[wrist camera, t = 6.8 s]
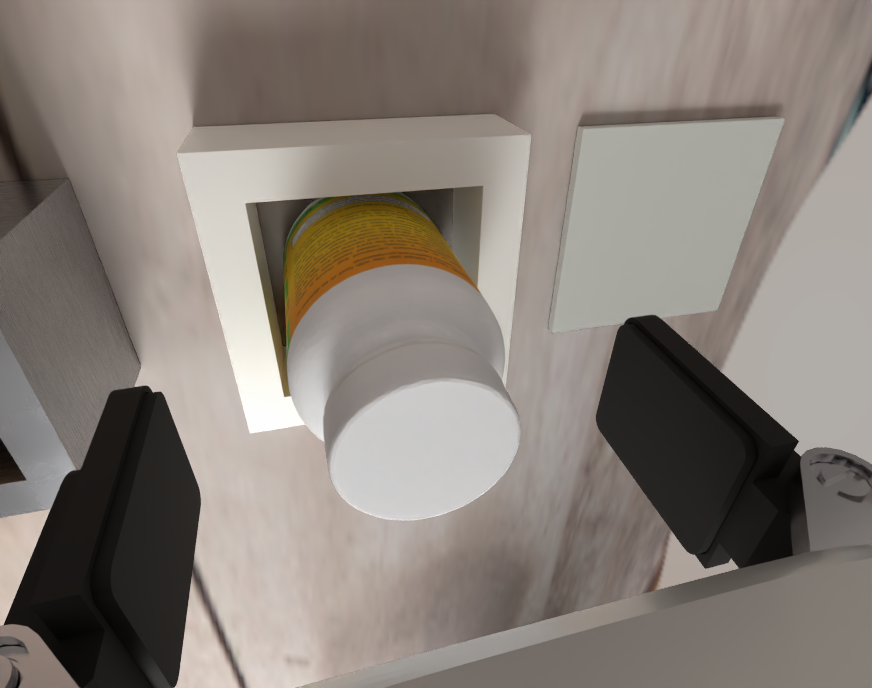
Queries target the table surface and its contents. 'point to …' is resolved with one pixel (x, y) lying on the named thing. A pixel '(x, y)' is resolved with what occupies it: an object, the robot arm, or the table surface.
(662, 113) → the table surface
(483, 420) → the supplement bottle
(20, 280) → the egg pedestal
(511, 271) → the collar
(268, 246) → the table surface
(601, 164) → the mat
